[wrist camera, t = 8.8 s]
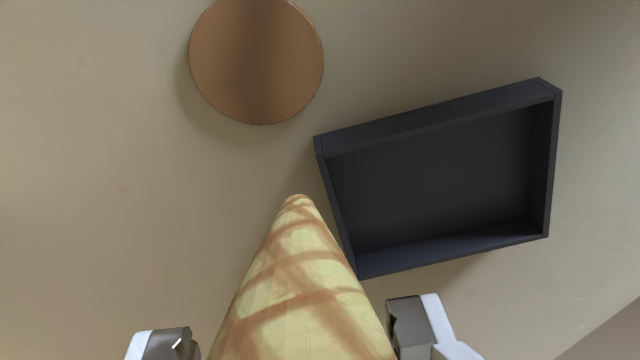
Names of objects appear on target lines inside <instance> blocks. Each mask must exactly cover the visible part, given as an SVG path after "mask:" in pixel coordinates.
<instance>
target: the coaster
mask: <svg viewBox="0 0 640 360" xmlns="http://www.w3.org/2000/svg"><path fill="white" fill-rule="evenodd" d="M188 57H189V65H190V70H191V74H192V76H193V79H194V82H195V84H196V86H197V88H198V89H199V91H200V92H201V94H202V95H203V97H204V98H205V99H206V100H207V101H208V102H209V104H211V105H212V106H213V107H214V108H215V109H216V110H218V111H219V112H220V113H222V114H223V115H225V116H227V117H229V118H231V119H233V120H236V121H238V122H242V123H245V124H251V125H270V124H275V123H279V122H282V121H285V120H287V119H289V118H291V117H293V116H294V115H296V114H297V113H299V112H300V111H301V110H302V109H304V108H305V107H306V106H307V104H308V103H309V102H310V101H311V99H312V98H313V97H314V95H315V93H316V91H317V89H318V87H319V84H320V81H321V77H322V73H323V53H322V47H321V44H320V40H319V37H318V35H317V33H316V30H315V28H314V27H313V25H312V23H311V22H310V20H309V19H308V18H307V17H306V15H305V14H304V13H303V12H302V11H301V10H300V9H299V8H298V7H297V6H295V5H294V4H292V3H291V2H290V1H288V0H217V1H215V2H214V3H213V4H211V5H210V6H209V7H208V8H207V9H206V10H205V11H204V12H203V13H202V15H201V16H200V17H199V19H198V20H197V22H196V24H195V26H194V28H193V31H192V34H191V37H190V42H189V52H188Z"/></svg>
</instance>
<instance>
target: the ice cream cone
mask: <svg viewBox="0 0 640 360" xmlns="http://www.w3.org/2000/svg"><path fill="white" fill-rule="evenodd" d="M206 360H398V358H397V355H396V353H395V351H394V349H393V347H392V345H391V343H390V341H389V339H388V337H387V335H386V333H385V331H384V329H383V327H382V325H381V323H380V321H379V319H378V317H377V315H376V313H375V311H374V309H373V307H372V305H371V303H370V301H369V299H368V297H367V295H366V294H365V292H364V290H363V288H362V286H361V285H360V283H359V281H358V279H357V277H356V276H355V274H354V272H353V270H352V268H351V267H350V265H349V263H348V261H347V259H346V257H345V256H344V254H343V252H342V250H341V249H340V247H339V245H338V244H337V242H336V240H335V239H334V237H333V235H332V234H331V232H330V230H329V229H328V227H327V225H326V224H325V222H324V220H323V219H322V217H321V215H320V214H319V212H318V210H317V209H316V207H315V205H314V204H313V202H312V200H311V199H310V198H309V197H308V196H306V195H302V194H297V195H292V196H290V197H288V198H287V199H285V200H284V201H283V203H282V205H281V207H280V209H279V211H278V213H277V215H276V216H275V218H274V220H273V222H272V224H271V226H270V228H269V230H268V231H267V233H266V235H265V237H264V239H263V241H262V243H261V244H260V246H259V248H258V250H257V252H256V254H255V256H254V258H253V260H252V262H251V264H250V266H249V268H248V270H247V272H246V274H245V276H244V278H243V280H242V282H241V284H240V286H239V288H238V290H237V292H236V294H235V296H234V298H233V300H232V303H231V305H230V307H229V309H228V312H227V314H226V316H225V318H224V320H223V323H222V325H221V327H220V329H219V332H218V334H217V336H216V338H215V340H214V343H213V345H212V347H211V349H210V351H209V354H208V357H207V359H206Z"/></svg>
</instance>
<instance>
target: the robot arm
mask: <svg viewBox="0 0 640 360" xmlns="http://www.w3.org/2000/svg"><path fill="white" fill-rule="evenodd" d="M385 308H386V313H387V316H386V328H387V335H388V339H389V341H390V343H391V345H392V347H393V349H394V351H395V353H396V355H397V358H398V360H485V359H484V358H483V357H482V356H480V355H479V354H478V353H477V352H475V351H474V350H473V349H472V348H470V347H469V346H468V345H467V344H465V343H464V342H463V341H457V340H456V338H455V335H454V333H453V330H452V328H451V326H450V323H449V321H448V318H447V316H446V314H445V311H444V309H443V306H442V304H441V301H440V299H439V297H438V295H437V294H436V293H431V294H424V295H413V296H407V297H400V298H393V299H386V301H385ZM191 338H192V331H191V329H190V327H189V326H186V327H177V328H167V329H158V330H149V331H141V332H136V334H135V335H134V336H133V337H132V339H131V342H130V345H129V347H128V350H127V352H126V355H125V358H124V360H201V353H200V348H199V345H198V343H197V342H196V341H194V340H192V339H191Z"/></svg>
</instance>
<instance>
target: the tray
mask: <svg viewBox="0 0 640 360" xmlns="http://www.w3.org/2000/svg"><path fill="white" fill-rule="evenodd" d="M562 92H563V91H562V90H561V89H559V88H557V87H555V86H554V85H552V84H550V83H549V82H547V81H545V80H543V79H542V78H540V77H536V78H532V79H528V80H525V81H521V82H517V83H513V84H510V85H506V86H502V87H498V88H494V89H491V90H487V91H483V92H479V93H476V94H472V95H468V96H464V97H460V98H457V99H453V100H449V101H445V102H442V103H438V104H434V105H430V106H426V107H423V108H419V109H415V110H411V111H407V112H404V113H400V114H396V115H392V116H389V117H385V118H381V119H377V120H373V121H370V122H366V123H362V124H358V125H355V126H351V127H347V128H343V129H339V130H336V131H332V132H328V133H324V134H321V135H317V136H313V139H314V147H315V155H316V159H317V162H318V165H319V169H320V172H321V175H322V178H323V182H324V185H325V188H326V192H327V195H328V198H329V201H330V205H331V208H332V211H333V215H334V218H335V221H336V225H337V228H338V231H339V234H340V238H341V241H342V244H343V248H344V251H345V254H346V257H347V261H348V263H349V265H350V267H351V268H352V270H353V272H354V274H355V276H356V277H357V279H358V281H362V280H366V279H371V278H375V277H379V276H384V275H388V274H392V273H396V272H401V271H405V270H409V269H414V268H418V267H422V266H427V265H431V264H435V263H439V262H444V261H448V260H452V259H457V258H461V257H465V256H470V255H474V254H478V253H482V252H487V251H491V250H495V249H500V248H504V247H508V246H513V245H517V244H521V243H525V242H530V241H534V240H538V239H543V238H547V237H548V234H549V224H550V214H551V204H552V194H553V183H554V173H555V163H556V153H557V143H558V133H559V122H560V112H561V102H562Z"/></svg>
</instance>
